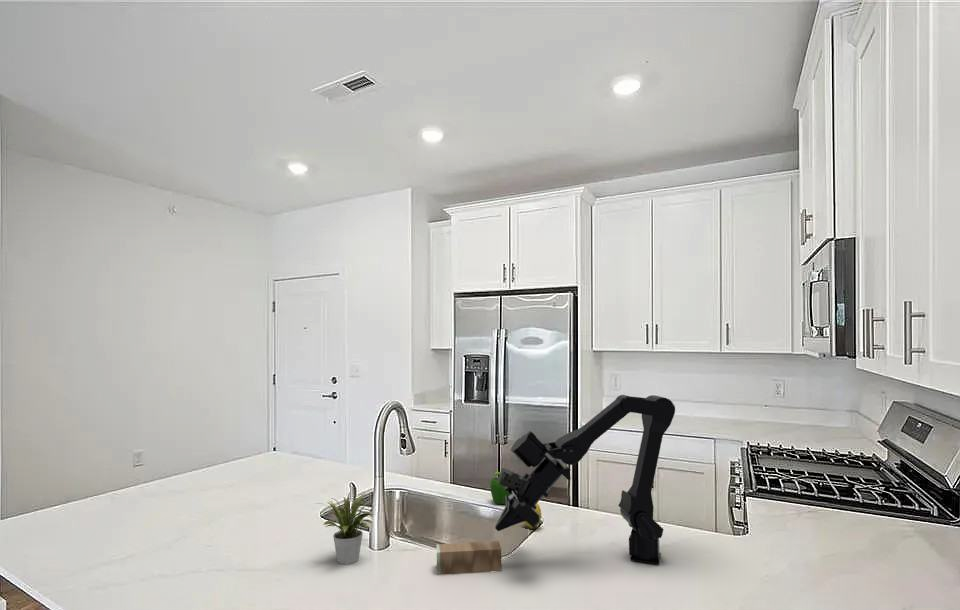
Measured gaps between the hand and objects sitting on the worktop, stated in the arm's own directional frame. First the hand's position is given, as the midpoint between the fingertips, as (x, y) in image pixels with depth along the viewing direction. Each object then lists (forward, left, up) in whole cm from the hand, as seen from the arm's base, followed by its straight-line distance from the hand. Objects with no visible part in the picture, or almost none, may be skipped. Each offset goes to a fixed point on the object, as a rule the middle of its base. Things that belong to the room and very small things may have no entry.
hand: (496, 529), depth 123 cm
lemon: (0, -27, -9) cm, 28 cm away
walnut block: (-1, 0, -6) cm, 6 cm away
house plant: (+36, +11, -9) cm, 39 cm away
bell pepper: (+16, -46, -9) cm, 49 cm away
